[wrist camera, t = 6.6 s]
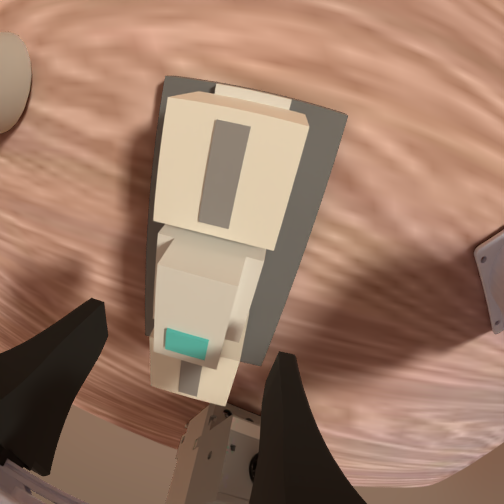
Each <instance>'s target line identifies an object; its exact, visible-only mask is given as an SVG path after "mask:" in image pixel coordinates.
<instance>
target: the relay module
mask: <svg viewBox="0 0 504 504" xmlns="http://www.w3.org/2000/svg"><path fill="white" fill-rule="evenodd" d="M265 254H266V249H264V248H260V247H256V246H252V245H248V244H244V243H240V242H236V241H232V240H228V239H225V238H221V237H217V236H213V235H209V234H205V233H201V232H197V231H193V230H189V229H185V228H180V227H176V226H172V225H168V224H165V225H164V226H163V227H162V229H161V230H160V231H159V233H158V239H157V251H156V265H155V281H154V301H153V319H154V352H157V353H160V354H163V355H166V356H170V357H173V358H176V359H180V360H183V361H186V362H190V363H193V364H197V365H200V366H204V367H208V368H211V369H215V370H217V366H218V362H219V358H220V354H221V350H222V347H223V343H224V339H226V340H230V341H234V342H237V343H239V342H240V338H241V335H242V332H243V329H244V326H245V322H246V319H247V316H248V313H249V309H250V306H251V303H252V300H253V296H254V293H255V290H256V287H257V283H258V280H259V277H260V274H261V270H262V267H263V264H264V260H265Z"/></svg>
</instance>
